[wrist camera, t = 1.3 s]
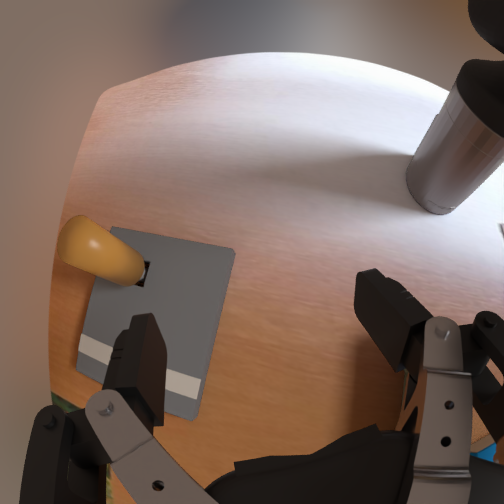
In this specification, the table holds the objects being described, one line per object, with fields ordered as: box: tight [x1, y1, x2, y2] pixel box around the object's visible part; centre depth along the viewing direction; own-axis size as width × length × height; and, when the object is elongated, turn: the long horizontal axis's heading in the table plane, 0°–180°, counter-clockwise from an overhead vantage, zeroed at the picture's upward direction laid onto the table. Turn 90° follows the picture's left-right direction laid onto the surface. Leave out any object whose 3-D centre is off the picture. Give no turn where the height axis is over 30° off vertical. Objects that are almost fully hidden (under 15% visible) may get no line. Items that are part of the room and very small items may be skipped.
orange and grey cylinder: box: [57, 215, 148, 287], centre depth 28 cm, size 4×4×14 cm
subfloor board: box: [76, 226, 235, 421], centre depth 31 cm, size 20×17×2 cm
